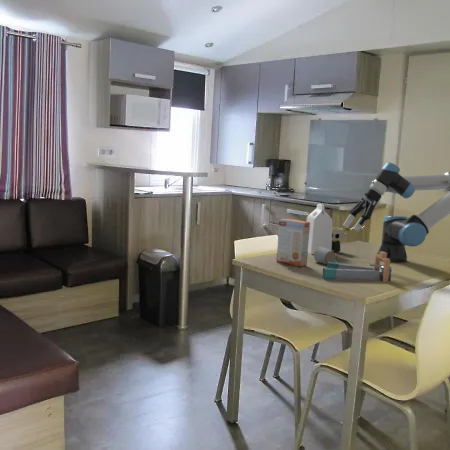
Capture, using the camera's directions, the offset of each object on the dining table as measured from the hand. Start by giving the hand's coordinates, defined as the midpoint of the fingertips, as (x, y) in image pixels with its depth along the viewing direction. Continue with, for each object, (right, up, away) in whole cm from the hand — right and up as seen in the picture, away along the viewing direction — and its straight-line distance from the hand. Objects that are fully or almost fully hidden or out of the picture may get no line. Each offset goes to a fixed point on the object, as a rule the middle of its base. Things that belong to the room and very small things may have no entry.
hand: (350, 228), depth 250 cm
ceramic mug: (-11, -17, +3) cm, 21 cm away
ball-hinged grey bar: (-4, -22, -27) cm, 35 cm away
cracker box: (-29, -17, -3) cm, 33 cm away
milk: (-11, -13, +29) cm, 34 cm away
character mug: (0, -13, +34) cm, 36 cm away
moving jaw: (-2, -21, -21) cm, 30 cm away
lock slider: (+7, -22, -24) cm, 34 cm away
